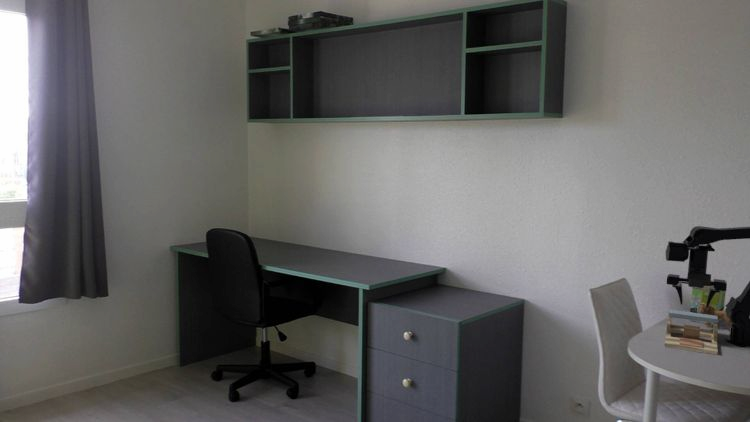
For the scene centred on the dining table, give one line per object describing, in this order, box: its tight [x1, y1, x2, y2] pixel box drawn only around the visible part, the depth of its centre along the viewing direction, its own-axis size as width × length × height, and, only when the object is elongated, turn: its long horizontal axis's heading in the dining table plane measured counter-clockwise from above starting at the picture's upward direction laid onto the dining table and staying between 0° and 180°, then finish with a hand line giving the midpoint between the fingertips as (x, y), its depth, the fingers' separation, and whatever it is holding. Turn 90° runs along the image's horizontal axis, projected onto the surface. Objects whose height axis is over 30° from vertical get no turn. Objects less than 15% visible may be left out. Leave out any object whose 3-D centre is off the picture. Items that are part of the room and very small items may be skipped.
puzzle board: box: [664, 317, 719, 356], centre depth 227 cm, size 26×16×5 cm, turn 153°
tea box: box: [689, 279, 727, 326], centre depth 253 cm, size 15×10×15 cm, turn 143°
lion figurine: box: [697, 303, 733, 328], centre depth 243 cm, size 15×5×9 cm, turn 71°
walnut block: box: [682, 323, 701, 340], centre depth 228 cm, size 5×5×4 cm
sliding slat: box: [667, 309, 719, 325], centre depth 236 cm, size 5×16×2 cm, turn 63°
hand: (694, 306), depth 227 cm, fingers open, 8 cm apart
